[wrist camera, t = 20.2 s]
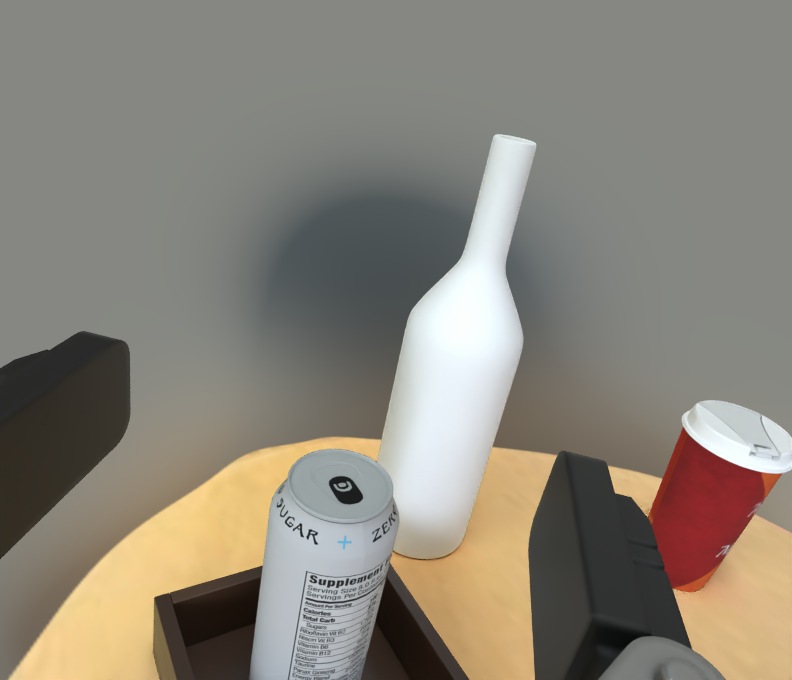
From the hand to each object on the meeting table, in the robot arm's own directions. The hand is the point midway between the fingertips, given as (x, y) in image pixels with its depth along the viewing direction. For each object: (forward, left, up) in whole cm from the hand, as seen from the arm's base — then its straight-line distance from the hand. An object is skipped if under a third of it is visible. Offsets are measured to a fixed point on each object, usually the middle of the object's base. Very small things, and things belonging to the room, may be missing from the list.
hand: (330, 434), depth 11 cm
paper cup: (-39, -8, -27) cm, 48 cm away
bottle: (-21, -20, -27) cm, 40 cm away
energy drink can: (-7, -10, -27) cm, 29 cm away
